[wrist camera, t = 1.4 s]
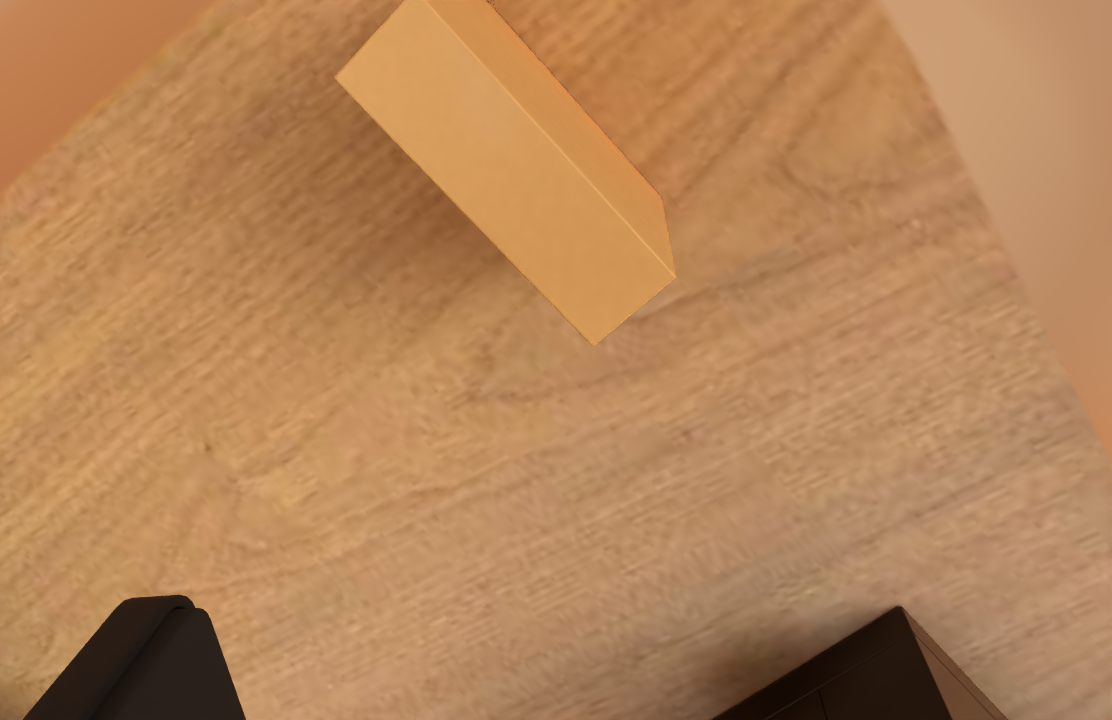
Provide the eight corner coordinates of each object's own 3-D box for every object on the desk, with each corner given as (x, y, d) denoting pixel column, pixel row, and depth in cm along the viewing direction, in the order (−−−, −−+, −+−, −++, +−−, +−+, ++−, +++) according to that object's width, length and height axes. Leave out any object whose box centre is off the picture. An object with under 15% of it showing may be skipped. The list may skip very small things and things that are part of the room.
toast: (478, -10, 24) (414, -13, 17) (662, 199, 26) (677, 277, 19) (418, 54, 25) (332, 77, 18) (601, 252, 27) (592, 347, 20)
